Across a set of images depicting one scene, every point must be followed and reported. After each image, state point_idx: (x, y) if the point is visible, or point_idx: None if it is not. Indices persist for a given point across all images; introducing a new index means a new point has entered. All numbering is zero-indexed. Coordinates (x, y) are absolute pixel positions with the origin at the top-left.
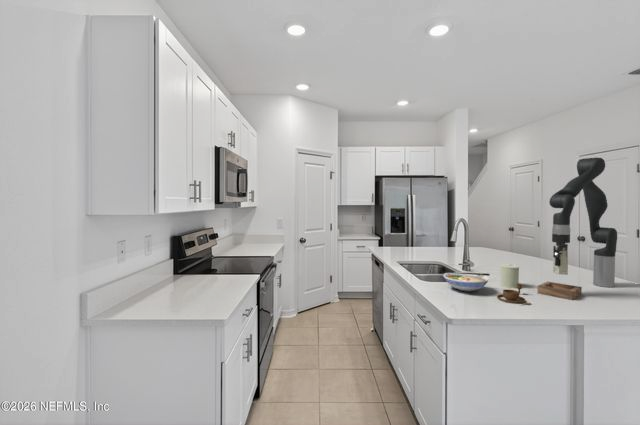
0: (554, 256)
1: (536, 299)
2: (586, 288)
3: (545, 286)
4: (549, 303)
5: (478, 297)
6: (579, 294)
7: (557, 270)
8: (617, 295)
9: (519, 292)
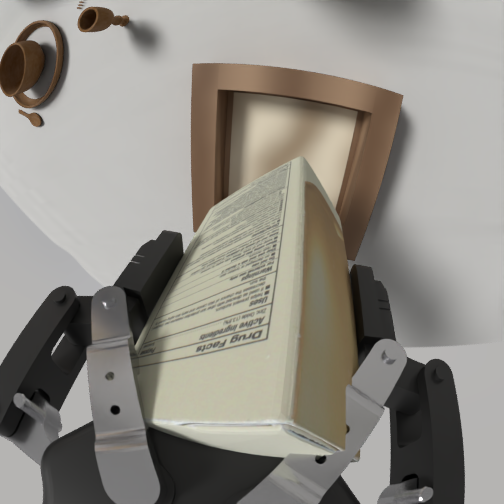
0: (57, 303)
1: (98, 105)
2: (482, 252)
3: (210, 102)
4: (89, 157)
5: (10, 7)
6: None
7: (215, 215)
8: (408, 322)
9: (114, 24)
